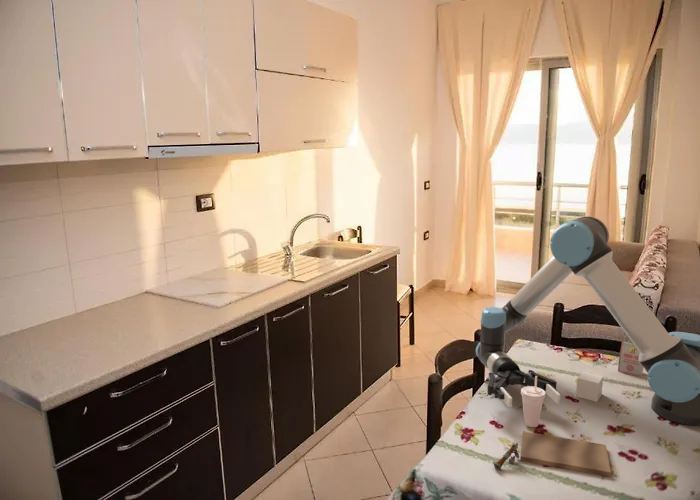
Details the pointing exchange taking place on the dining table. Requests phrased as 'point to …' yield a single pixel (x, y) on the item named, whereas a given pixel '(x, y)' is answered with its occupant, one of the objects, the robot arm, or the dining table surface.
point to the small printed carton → (629, 360)
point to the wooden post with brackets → (507, 456)
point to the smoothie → (532, 404)
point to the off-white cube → (589, 386)
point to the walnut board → (565, 453)
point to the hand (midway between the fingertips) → (534, 401)
